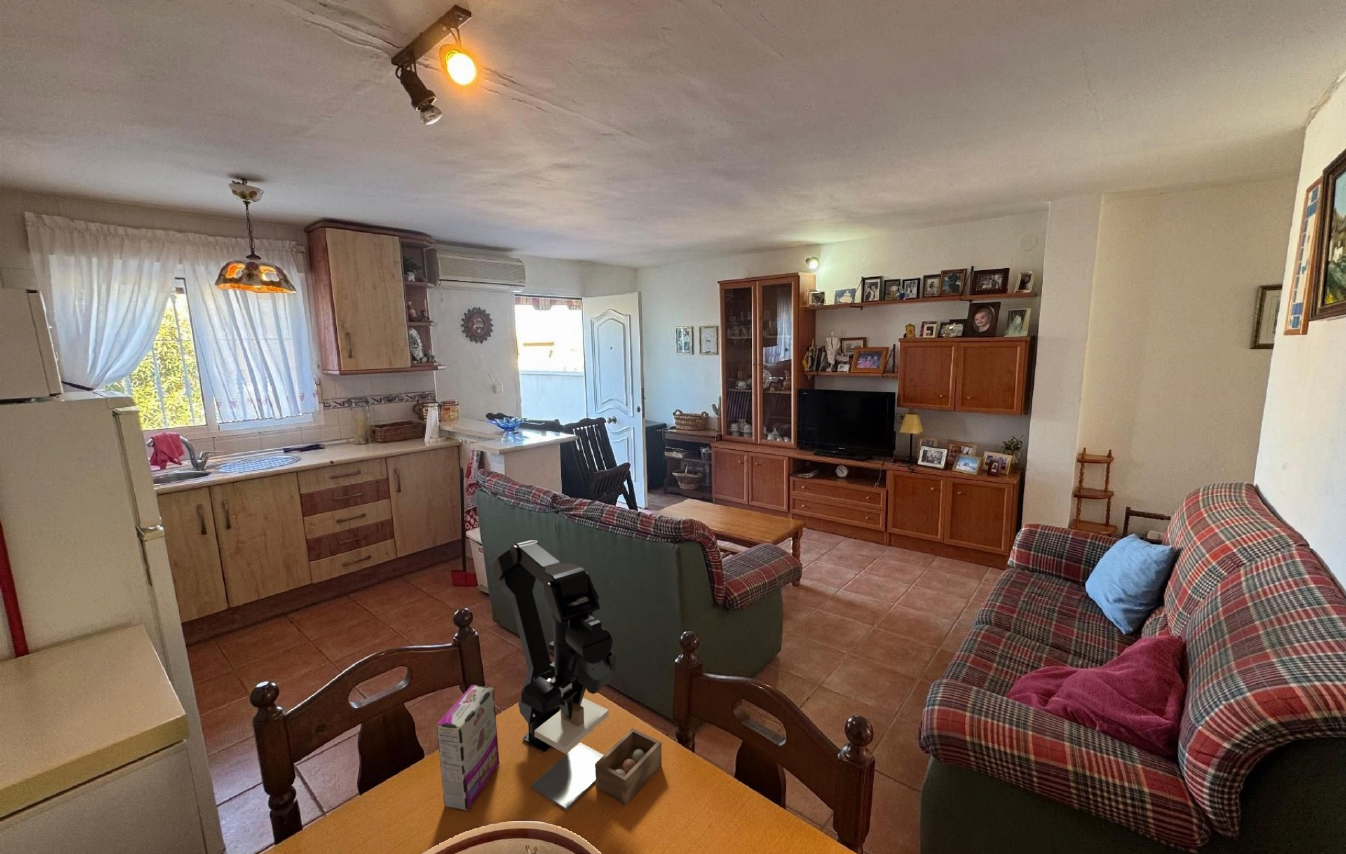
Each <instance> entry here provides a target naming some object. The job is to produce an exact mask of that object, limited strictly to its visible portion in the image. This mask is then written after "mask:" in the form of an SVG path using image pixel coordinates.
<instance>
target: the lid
mask: <svg viewBox="0 0 1346 854" xmlns="http://www.w3.org/2000/svg"><path fill="white" fill-rule="evenodd" d="M609 711H610V710H609V709H608V708H605V707H603V706H602V705H599V704H597V703H595V702H592V701H590V700H588V699H587V698H586V697H585V698H584V697H583V699H582V703H581V706H580V705H578V704H576V703H574V702H572V716H571V719H570V720H569V719H567V718H566V717H565V716H564V714H563V712H562V710H561V709H560V711H559V712H558V713H556V714H555V715H554V716H552V717H551V718H550V719H549V720H547V721H546V722H545V723H543V724H542V725H541V726H540V727H538V728H537V729H536V730H534V733H535V737H536V738H538V739H540V740H542V741H544V742H545V743H547V744H549V745H551V746H552V747H553V748H555V749H556V750H557V751H560V752H562V753H563V754H565V755H566V754H567V753H568V752H570V751H571V750H572V749H573V748H574V747H575V746H576V745H578V744H579V743H580V741H582V740H583V739H584V738H585V737H586V736H587V735H588V734H589V733H591V732H592V731H593V730H594V729H595V728H596V727H598V726H599V725H600V724H601V723H602V722H603V721H605V720H606V719H607V718H608V717H609V714H610V712H609ZM552 747H551V748H552Z"/></svg>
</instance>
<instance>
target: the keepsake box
mask: <svg viewBox="0 0 1346 854" xmlns="http://www.w3.org/2000/svg"><path fill="white" fill-rule="evenodd" d="M603 755H604V756H603V757H601V758H600V759H599V760H598V761H597V762H596V763H595V777H596V782H595V789H596V790H598V791H600V792H602V793H603V794H605V795H607V796H609V797H610V798H612V799H613V800H615V801H617V802H619V803H620V804H622V805H624V806H627V805H628V804H629V803H631V801H632V800H633V798H634V797H635V796H637V794H638V793H639V792H640V791H641V790H642V789H643V787H644V786H645V785H646V784H647V783H648V782H649V781H650V779H651V778H653V776H654V775H655V774H656V772H657V771H659V769H660V768H661V767H662V765H663V763H662V760H663V759H662V741H660V740H658V739H656V738H653V737H652V736H649V735H648V734H645V733H644V732H642V731H639V730H638V729H635V728H633V727H632V728H631V729H630V730H629V731H628V732H627V733H626V734H624V736H622V737H621V738H620V739H619V740H618V741H617V742H616V743H615V744H614V745H613V746H612V747H611V748H610V749H608V750H607V752H606V753H604V754H603Z"/></svg>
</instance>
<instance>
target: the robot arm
mask: <svg viewBox="0 0 1346 854" xmlns="http://www.w3.org/2000/svg"><path fill="white" fill-rule="evenodd" d="M492 574H493V577H494V579H495V581H497V584H498V587H499V589H500V591H501V592H502V593H503V594H505V596H507V597H508V598H509V599H510V602H511V607H512V611H513V615H514V618H515V622H516V625H517V627H516V628H517V631H518V634H519V639H520V643H521V646H522V651H523V653H524V658H525V663H526V667H527V671H526V675H525V679H524V682H523V687H522V688H521V690H520V691H521V692H520V693H521V698H520V700H519V701H518V708H519V714H521V716H522V717H523V718H524V720H525V721H526V722H527V726H528V733H526V734H525V735H524V736H523V737H522V741H523V742H525V743H527V744H528V745H530V746H532V747H534V748H535V749H537V750H539V751H540V752H542V753H546V752H548V750H549V749H550V748H552V746H551V745H549V744H547V743H545V742H544V741H542V740H540V739H538V738H536V737H535V733H534V730H536V729H537V728H538V727H540V726H541V725H542V724H543V723H545V722H546V721H547V720H549V719H550V718H551V717H552V716H554V715H555V714H556V713H558V712H559V711H560V710H562V712H563V714H564V716H565V717H566V718H567V719H569V720H570V719H571V716H572V702H574V703H576V704H578V705H580V706H581V703H582V699H583V698H584V696H585V692H586V691H587V692H588V693H589V694H593V695H594V694H597V693H598V692H599V691H601V689H603V688H604V687H605V686H607V685H608V684H609V682H610V679H611V676H612V675H613V674H614V673H615V672H616V671H617V667H616V665H617V655H616V654H617V653H616V652H615V651H614V649H613V648H612V647H613V637H612V635H611V633H610V632H609V630H608V629H606V628H605V627H603V626H602V621H600V620H599V619H598V618H595V617H594V616H593V615H594V614H593V613H594V612H598V611H600V610H601V606H600V602H599V599H600V597H599V595H598V592H597V590H596V588H595V586H594V583H593V581H592V579H591V576H590V575H589V573H588V572H587V571H586V570H585V568H583V567H582V566H579V565H578V564H574V563H563V562H561V561H559V560H558V559H556V557H555V556H553V555H551V553H549V552H548V551H546V550H545V549H544V548H543V547H541V546H540V543H539V542H538V540H536V539H529V540H528V539H527V540H523V541H520V542H515V543H514V544H512V545H511V546H510V548H509V549H508V550H507V551H505V552H504V553H501V555H499V556H498V557H496V560H495V561H494V563H493V566H492ZM536 581H538V582H540V583H541V584H542V585H543V595H544V597H545V599H546V601H547V604H548V607H549V608H550V610H551V612H552V634H553V635H552V636H553V641H550V642H549V643H548V645H547V642H546V641H547V640H546V637H545V636H546V635H545V633H544V630H543V626H542V622H541V618H540V615H539V610H538V606H537V602H536V599H535V594H534V588H535V585H536ZM585 599H587V601H584V602H581V603H577V602H578V601H579V602H580V601H581V600H585ZM549 650H550V651H553V660H552V659H551V656H550V652H549Z"/></svg>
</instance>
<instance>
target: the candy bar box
mask: <svg viewBox="0 0 1346 854" xmlns="http://www.w3.org/2000/svg"><path fill="white" fill-rule="evenodd" d="M495 699H496V698H495V688H494V687H490V686H482V685H478V684H472V685H470V686H469V688H468V689H466V691H465V692H464V693H463V694H462V696H461V697H460V698H458V700H457V701H456V702H455V703H454V704H453V706H452V707H450V708H449V710H448V711H446V713H445V714H444V715H443V716H442V717H441V719H440V720H439V721H438V722H437V723H436V732H437V743H438V754H439V760H440V761H439V762H440V763H439V764H440V773H441V785H442V797H443V805H444V807H446V808H449V809H456V810H461V811H466V812H468V811H469V810H470V808H471V807H472V805H473V804H474V802H475V801H476V799H477V798H478V797H479V795H480V793H481V791H482V790H483V788H484V787H486V784H487V783H488V781H489V780H490V779H491V777H492V775H493V774H494V772H495V771H496V769H497V768H499V767H498V766H499V765H500V756H499V742H498V741H499V740H498V729H497V728H498V727H497V714H496V703H495V702H496V701H495Z"/></svg>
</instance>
